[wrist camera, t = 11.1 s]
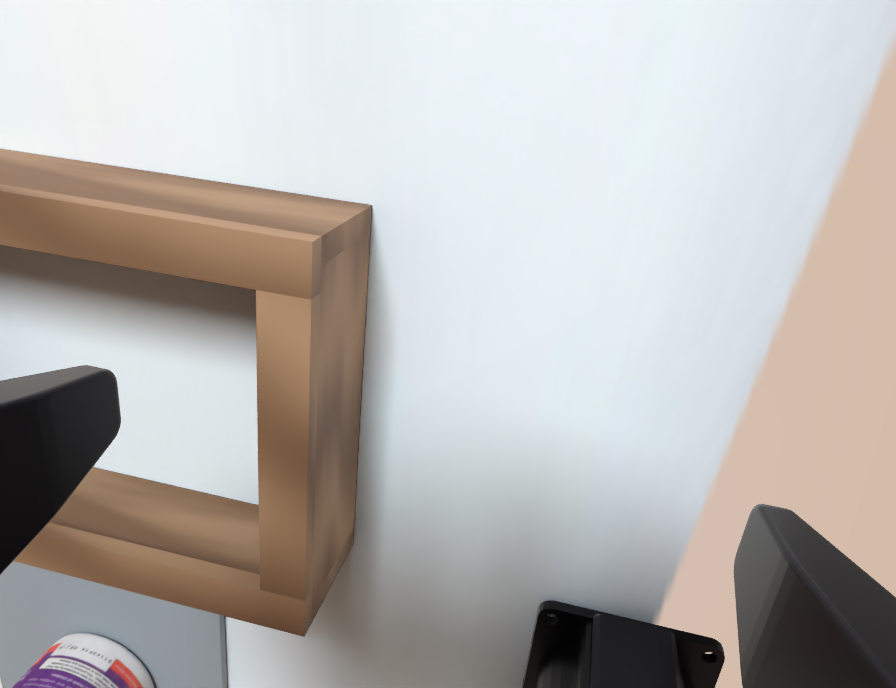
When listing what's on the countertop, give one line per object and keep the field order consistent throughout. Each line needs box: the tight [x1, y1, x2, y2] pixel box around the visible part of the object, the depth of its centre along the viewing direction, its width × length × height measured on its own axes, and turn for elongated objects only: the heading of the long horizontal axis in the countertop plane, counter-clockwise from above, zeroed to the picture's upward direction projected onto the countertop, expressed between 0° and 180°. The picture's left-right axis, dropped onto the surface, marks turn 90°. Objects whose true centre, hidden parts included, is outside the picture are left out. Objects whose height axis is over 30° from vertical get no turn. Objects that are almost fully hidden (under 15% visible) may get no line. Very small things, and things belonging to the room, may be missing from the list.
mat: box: [0, 561, 227, 688], centre depth 32 cm, size 12×12×1 cm
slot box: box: [0, 149, 372, 636], centre depth 23 cm, size 13×19×5 cm
